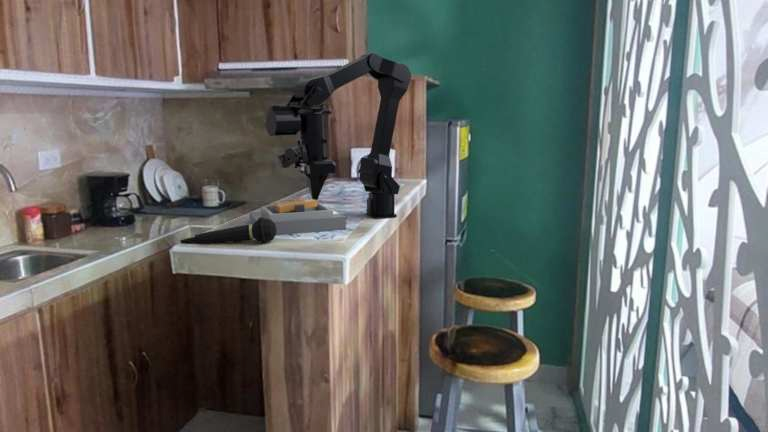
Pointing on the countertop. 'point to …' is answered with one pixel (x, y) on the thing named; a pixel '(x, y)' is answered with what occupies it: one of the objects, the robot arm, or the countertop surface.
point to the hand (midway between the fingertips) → (314, 200)
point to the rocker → (291, 204)
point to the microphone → (238, 233)
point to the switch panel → (302, 219)
